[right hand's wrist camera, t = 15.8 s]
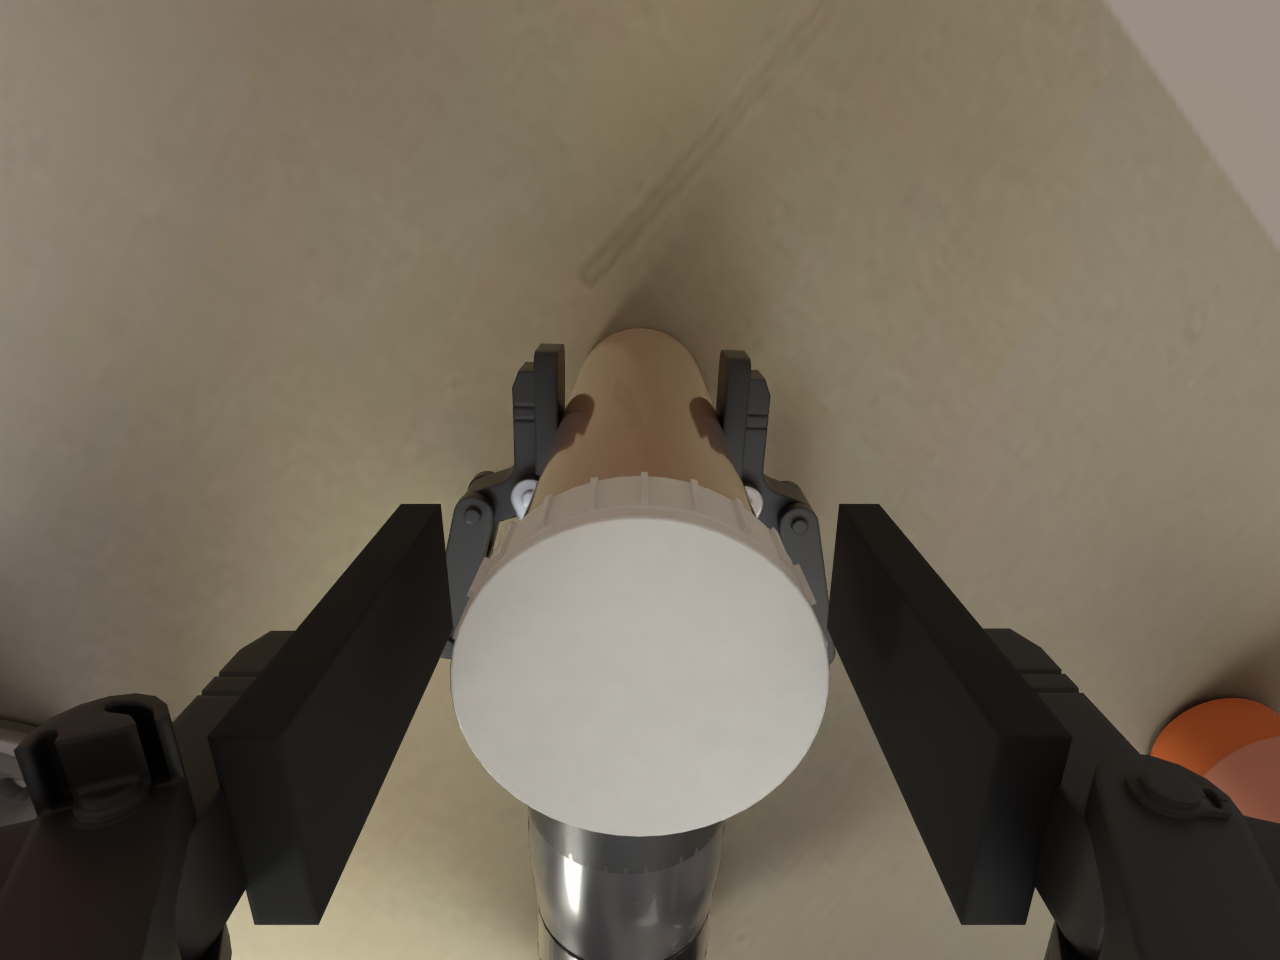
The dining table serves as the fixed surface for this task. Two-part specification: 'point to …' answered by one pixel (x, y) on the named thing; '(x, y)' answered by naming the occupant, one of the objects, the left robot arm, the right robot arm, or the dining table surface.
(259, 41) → the dining table surface
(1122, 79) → the dining table surface
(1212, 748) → the cup with straw
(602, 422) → the jar
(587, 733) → the lid
